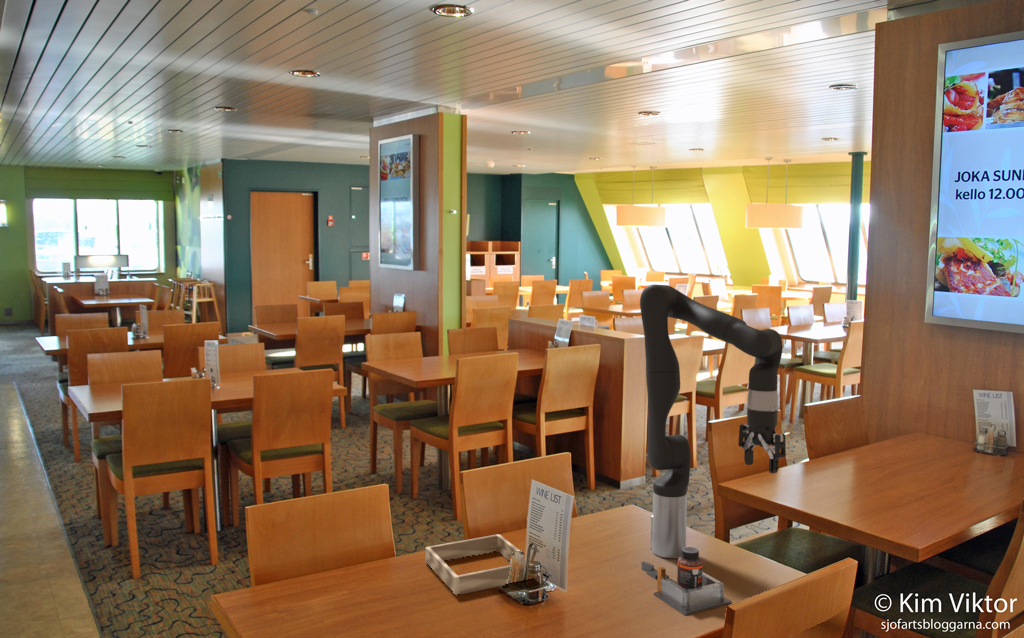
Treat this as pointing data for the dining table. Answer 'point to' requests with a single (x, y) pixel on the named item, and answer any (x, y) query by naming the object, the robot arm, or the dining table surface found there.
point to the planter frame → (468, 548)
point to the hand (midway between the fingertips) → (760, 468)
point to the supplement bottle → (689, 569)
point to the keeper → (691, 594)
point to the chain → (652, 570)
